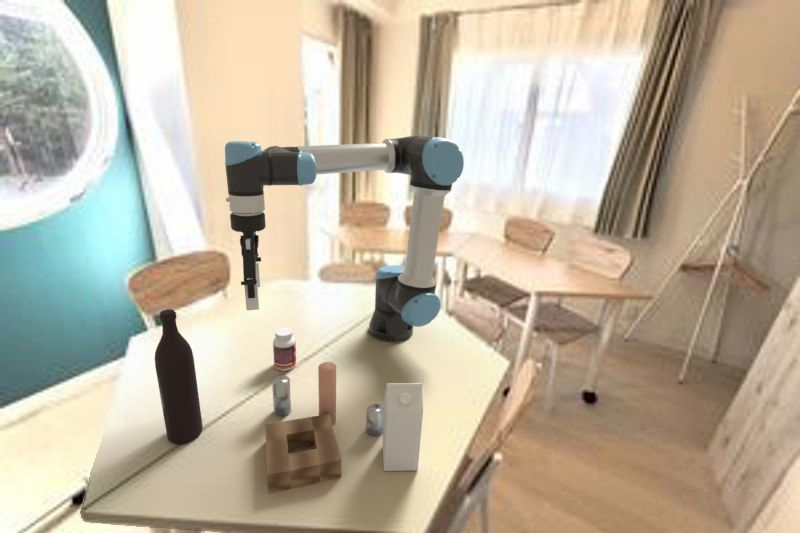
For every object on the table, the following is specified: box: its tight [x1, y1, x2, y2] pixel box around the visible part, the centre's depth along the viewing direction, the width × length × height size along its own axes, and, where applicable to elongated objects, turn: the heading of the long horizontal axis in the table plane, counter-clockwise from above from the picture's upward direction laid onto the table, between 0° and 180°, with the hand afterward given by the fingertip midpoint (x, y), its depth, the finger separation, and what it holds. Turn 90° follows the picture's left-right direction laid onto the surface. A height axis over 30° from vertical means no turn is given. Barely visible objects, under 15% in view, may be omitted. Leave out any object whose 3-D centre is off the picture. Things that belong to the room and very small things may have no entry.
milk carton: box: [381, 382, 424, 472], centre depth 85 cm, size 7×7×19 cm
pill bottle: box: [272, 327, 297, 372], centre depth 117 cm, size 6×6×11 cm
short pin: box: [365, 403, 384, 438], centre depth 95 cm, size 4×4×6 cm
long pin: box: [317, 361, 337, 426], centre depth 95 cm, size 4×4×15 cm
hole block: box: [264, 414, 342, 494], centre depth 86 cm, size 14×14×4 cm
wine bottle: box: [154, 308, 204, 445], centre depth 87 cm, size 7×7×30 cm
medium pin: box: [271, 374, 292, 418], centre depth 98 cm, size 4×4×9 cm
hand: (253, 297), depth 101 cm, fingers open, 13 cm apart
